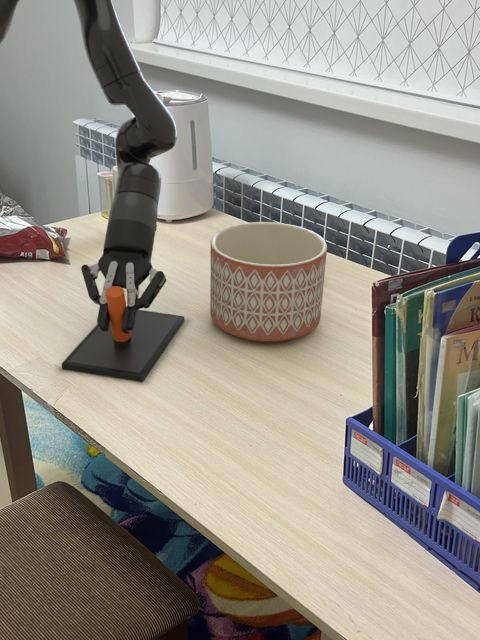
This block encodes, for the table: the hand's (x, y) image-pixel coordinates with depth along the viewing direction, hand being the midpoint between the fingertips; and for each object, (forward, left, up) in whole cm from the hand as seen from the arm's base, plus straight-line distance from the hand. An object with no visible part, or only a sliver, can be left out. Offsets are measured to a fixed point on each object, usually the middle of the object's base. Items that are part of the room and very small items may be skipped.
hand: (114, 330), depth 106 cm
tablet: (0, +5, -5) cm, 7 cm away
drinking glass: (-17, +50, -5) cm, 53 cm away
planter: (+20, +19, -5) cm, 28 cm away
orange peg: (0, +4, -4) cm, 5 cm away
